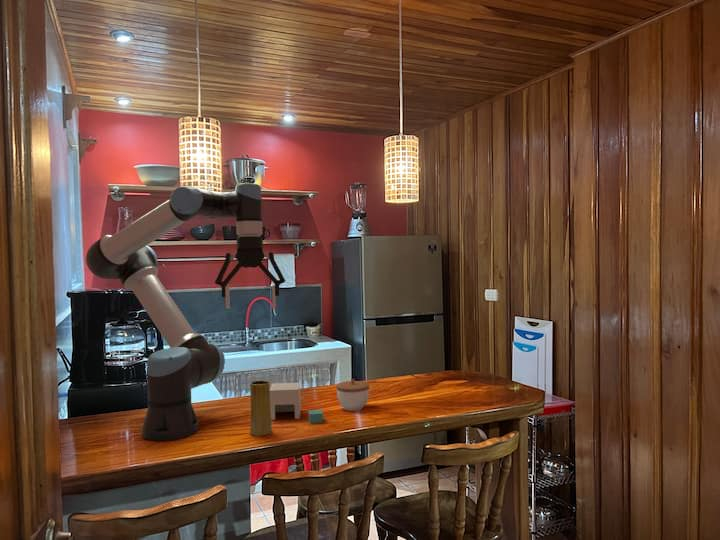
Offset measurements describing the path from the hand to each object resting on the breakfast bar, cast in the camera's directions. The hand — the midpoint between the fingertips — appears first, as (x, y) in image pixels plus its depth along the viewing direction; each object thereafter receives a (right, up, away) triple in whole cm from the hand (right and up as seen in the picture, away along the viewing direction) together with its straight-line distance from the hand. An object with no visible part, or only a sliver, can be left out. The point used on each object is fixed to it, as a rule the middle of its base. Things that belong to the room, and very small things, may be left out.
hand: (251, 307), depth 153 cm
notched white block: (+9, -34, +9) cm, 37 cm away
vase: (+4, -35, -7) cm, 36 cm away
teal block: (+19, -35, +2) cm, 40 cm away
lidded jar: (+30, -34, +15) cm, 48 cm away
